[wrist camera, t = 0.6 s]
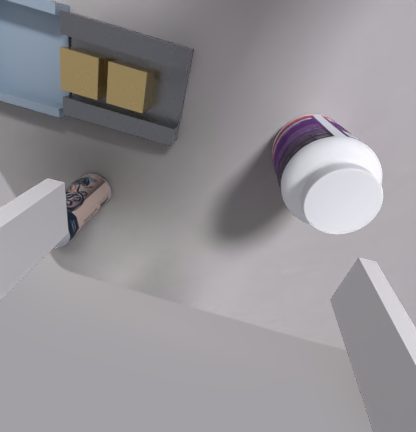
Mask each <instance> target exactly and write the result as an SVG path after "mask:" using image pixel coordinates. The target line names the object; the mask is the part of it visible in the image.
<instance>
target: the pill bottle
mask: <svg viewBox="0 0 416 432" xmlns="http://www.w3.org/2000/svg"><path fill="white" fill-rule="evenodd" d="M272 159H273V164H274V167H275V171H276V175H277V179H278V183H279V186H280V190H281V194H282V198H283V201H284V203H285V205H286V207H287V208H288V209H289V211H290V212H291V213H292V214H293V215H294V216H295V217H297V218H298V219H300V220H301V221H303V222H305V223H308V224H310V225H312V226H313V227H314V228H315V229H317V230H319V231H321V232H324V233H328V234H346V233H350V232H353V231H356V230H358V229H360V228H362V227H364V226H365V225H367V224H368V223H369V222H370V221H371V220H372V219H373V218H374V217H375V216H376V215H377V213H378V212H379V210H380V208H381V205H382V202H383V190H382V187H381V183H382V168H381V164H380V162H379V159H378V158H377V156H376V154H375V153H374V152H373V151H372V150H371V149H370V148H369V147H368V146H367V145H366V144H364V143H363V142H362V141H360V140H359V139H357V138H356V137H355V136H353V135H352V134H351V133H349V132H348V131H347V130H345V129H344V128H343V127H341V126H340V125H339V124H337V123H336V122H335V121H333V120H332V119H330V118H328V117H326V116H323V115H317V114H309V115H303V116H300V117H297V118H295V119H293V120H292V121H290V122H289V123H287V124H286V125H285V126H284V127H283V128H282V129H281V130H280V132H279V133H278V135H277V136H276V138H275V140H274V143H273V147H272Z"/></svg>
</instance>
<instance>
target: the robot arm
mask: <svg viewBox="0 0 416 432" xmlns="http://www.w3.org/2000/svg"><path fill="white" fill-rule="evenodd" d="M67 234H68V220H67V207H66V194H65V182H61V181H57V180H53V179H49V178H47V179H45V180H44V181H42V182H40V183H39V184H37V185H36V186H34V187H32V188H31V189H29V190H27V191H26V192H24V193H23V194H21V195H19V196H18V197H16V198H15V199H13V200H11V201H10V202H8V203H7V204H5V205H3V206H2V207H0V301H1V300H2V299H3V298H4V297H5V296H6V295H7V294H8V292H10V291H11V289H13V288H14V286H16V285H17V284H18V282H19V281H21V279H23V278H24V277H25V276H26V275H27V274H28V273H29V272H30V270H32V269H33V268H34V267H35V266H36V265H37V264H38V262H40V261H41V260H42V259H43V258H44V257H45V256H46V255H47V254H48V253H49V252H50V251H51V250H52V249H53V248H54V247H55V246H56V245H57V244H58V243H59V242H60V241H61V240H62V239H63V238H64V237H65V236H66V235H67ZM330 300H331V303H332V307H333V310H334V313H335V316H336V319H337V322H338V325H339V328H340V331H341V334H342V337H343V340H344V344H345V347H346V350H347V353H348V356H349V359H350V362H351V365H352V368H353V371H354V374H355V377H356V381H357V384H358V386H359V390H360V393H361V396H362V399H363V402H364V405H365V408H366V411H367V414H368V417H369V421H370V424H371V427H372V430H373V432H416V328H415V326H414V324H413V323H412V321H411V319H410V318H409V316H408V314H407V313H406V311H405V309H404V308H403V306H402V304H401V303H400V301H399V299H398V298H397V296H396V294H395V293H394V291H393V289H392V288H391V286H390V284H389V283H388V281H387V279H386V278H385V276H384V274H383V273H382V271H381V269H380V268H379V266H378V264H377V263H376V262H375V261H371V260H367V259H363V258H358V259H357V261H356V262H355V264H354V265H353V266H352V268H351V269H350V271H349V272H348V274H347V275H346V277H345V278H344V280H343V281H342V283H341V284H340V286H339V287H338V289H337V290H336V292H335V293H334V295H333V296H332V298H331V299H330Z"/></svg>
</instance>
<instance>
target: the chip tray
mask: <svg viewBox="0 0 416 432" xmlns="http://www.w3.org/2000/svg"><path fill="white" fill-rule="evenodd" d="M60 10H62V11H66V12H70V8H69V6H67V5H64V4H60V3H57V2H54V1H51V0H0V101H3V102H7V103H10V104H14V105H17V106H21V107H24V108H27V109H31V110H34V111H38V112H41V113H45V114H48V115H51V116H55V117H58V118H60V117H63V116H66V115H63V96H68V95H71V92H68V91H64V90H61V77H60V47H70V37H69V36H65V35H62V34H61V24H60Z"/></svg>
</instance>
